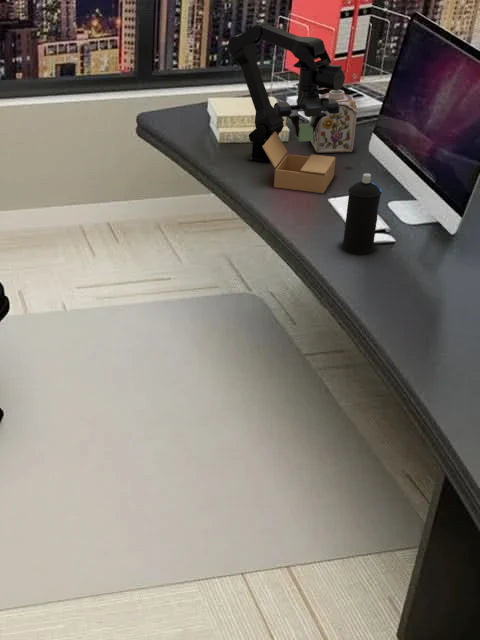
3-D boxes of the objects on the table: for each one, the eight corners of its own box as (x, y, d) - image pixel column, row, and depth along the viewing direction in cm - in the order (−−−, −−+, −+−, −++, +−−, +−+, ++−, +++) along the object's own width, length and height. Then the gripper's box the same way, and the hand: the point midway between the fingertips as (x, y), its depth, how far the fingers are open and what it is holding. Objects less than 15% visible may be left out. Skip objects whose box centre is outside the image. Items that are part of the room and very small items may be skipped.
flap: (275, 167, 294) (274, 167, 294) (287, 151, 304) (286, 152, 304) (263, 146, 292) (262, 146, 292) (275, 131, 302) (274, 131, 302)
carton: (273, 187, 297) (275, 167, 294) (285, 170, 307) (287, 151, 304) (323, 193, 292) (325, 173, 288) (333, 176, 302) (335, 156, 299)
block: (299, 141, 301) (300, 128, 299) (295, 137, 304) (296, 124, 302) (312, 140, 301) (313, 127, 299) (308, 136, 305) (309, 123, 302)
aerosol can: (355, 257, 257) (365, 183, 245) (335, 245, 263) (343, 172, 251) (380, 249, 260) (391, 176, 248) (359, 238, 266) (368, 166, 254)
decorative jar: (353, 152, 318) (359, 96, 308) (316, 154, 318) (321, 97, 308) (345, 140, 328) (351, 85, 318) (309, 141, 328) (314, 86, 318)
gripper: (284, 94, 286) (280, 147, 295) (348, 90, 287) (342, 142, 296) (274, 83, 296) (271, 134, 304) (336, 79, 297) (331, 130, 305)
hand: (304, 135), depth 302 cm, fingers closed on block, 4 cm apart
